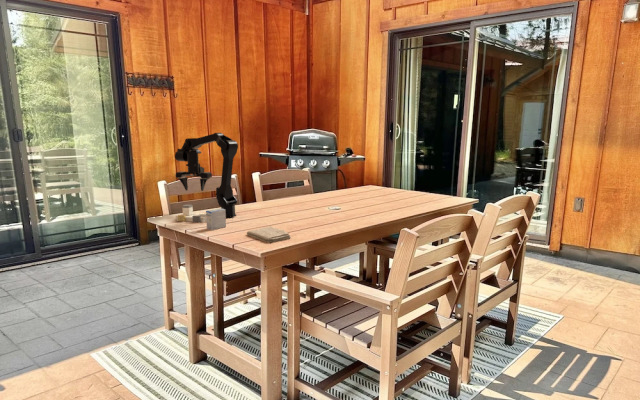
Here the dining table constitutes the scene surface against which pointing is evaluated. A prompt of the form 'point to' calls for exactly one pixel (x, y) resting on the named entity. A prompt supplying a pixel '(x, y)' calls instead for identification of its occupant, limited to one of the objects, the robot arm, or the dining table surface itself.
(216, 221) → the medicine box
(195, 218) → the socket block
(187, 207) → the plug
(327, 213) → the dining table surface
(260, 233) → the washcloth
